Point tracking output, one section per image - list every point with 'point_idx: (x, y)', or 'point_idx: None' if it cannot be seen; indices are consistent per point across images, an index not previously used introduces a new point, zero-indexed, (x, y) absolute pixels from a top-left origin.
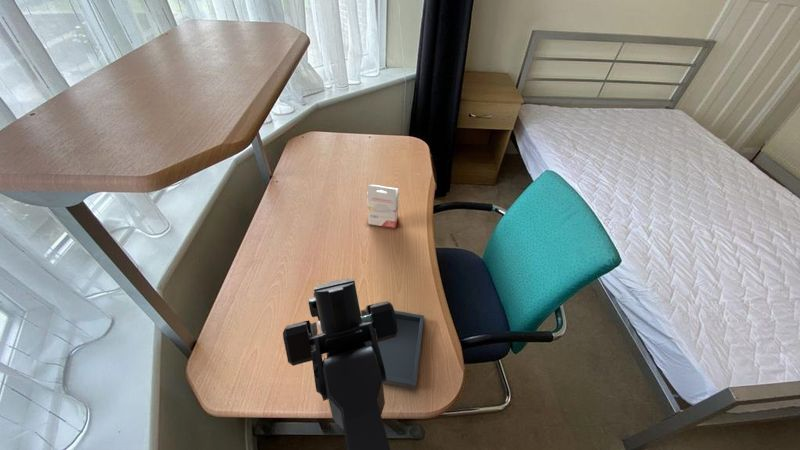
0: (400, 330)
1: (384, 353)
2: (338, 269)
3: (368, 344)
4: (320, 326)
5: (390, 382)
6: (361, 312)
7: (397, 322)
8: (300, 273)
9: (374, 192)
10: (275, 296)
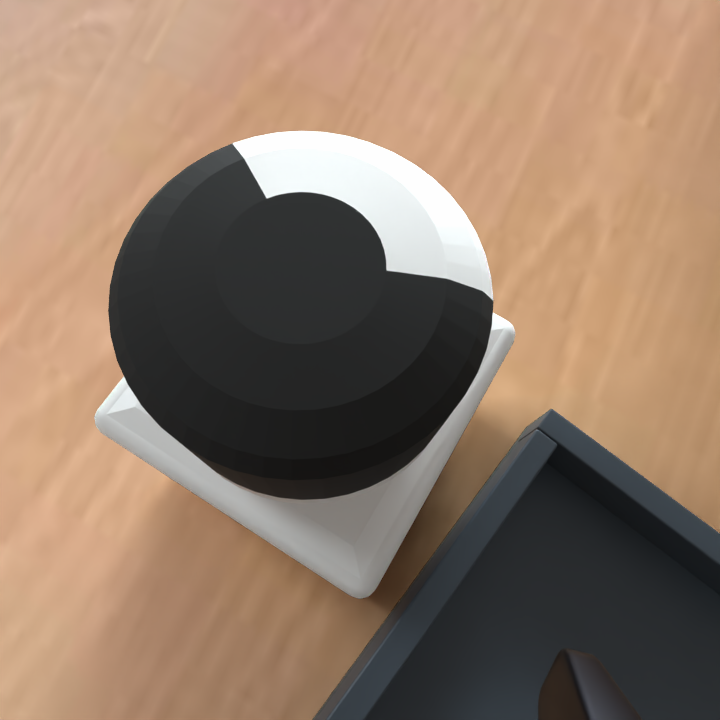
0: (708, 704)
1: None
2: (465, 86)
3: (440, 685)
4: (113, 440)
5: None
6: (563, 696)
7: (707, 626)
8: (254, 18)
9: None
10: (66, 81)
